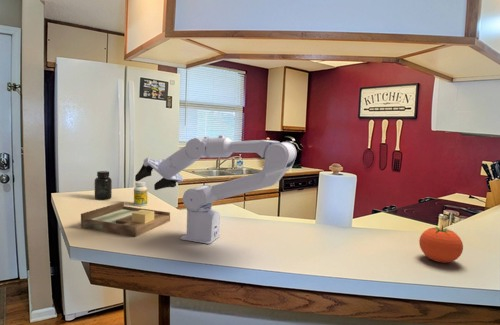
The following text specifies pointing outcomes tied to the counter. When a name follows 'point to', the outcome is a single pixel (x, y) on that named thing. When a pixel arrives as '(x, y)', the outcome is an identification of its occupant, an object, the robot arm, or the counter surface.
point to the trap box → (120, 220)
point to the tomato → (441, 244)
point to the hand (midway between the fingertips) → (145, 183)
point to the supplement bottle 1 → (103, 186)
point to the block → (142, 216)
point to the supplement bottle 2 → (140, 194)
